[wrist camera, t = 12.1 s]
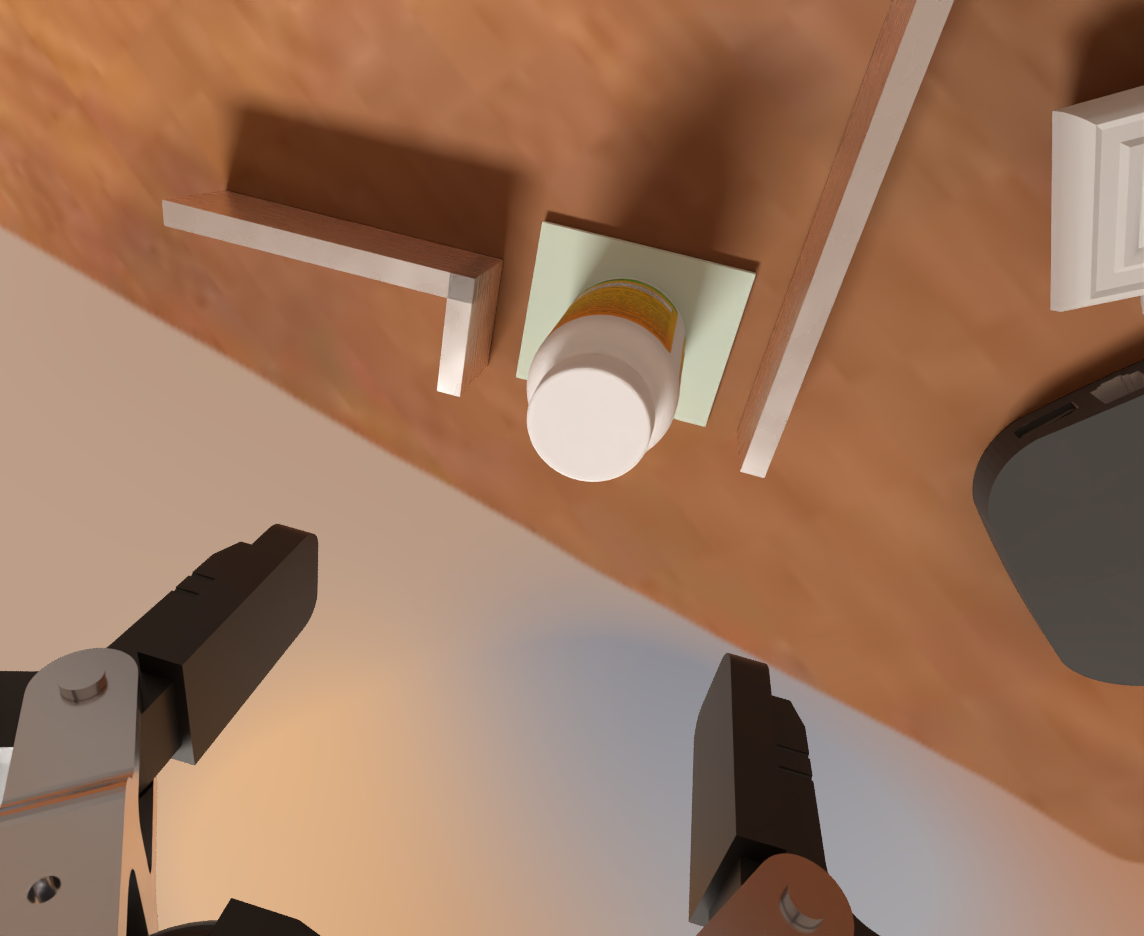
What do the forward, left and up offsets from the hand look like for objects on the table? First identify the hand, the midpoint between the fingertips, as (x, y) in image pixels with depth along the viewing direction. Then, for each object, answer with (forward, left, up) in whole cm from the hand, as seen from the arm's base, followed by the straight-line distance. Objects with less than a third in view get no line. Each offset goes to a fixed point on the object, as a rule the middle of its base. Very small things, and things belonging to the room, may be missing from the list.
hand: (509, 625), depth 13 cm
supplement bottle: (0, 0, -19) cm, 19 cm away
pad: (0, 0, -19) cm, 19 cm away
